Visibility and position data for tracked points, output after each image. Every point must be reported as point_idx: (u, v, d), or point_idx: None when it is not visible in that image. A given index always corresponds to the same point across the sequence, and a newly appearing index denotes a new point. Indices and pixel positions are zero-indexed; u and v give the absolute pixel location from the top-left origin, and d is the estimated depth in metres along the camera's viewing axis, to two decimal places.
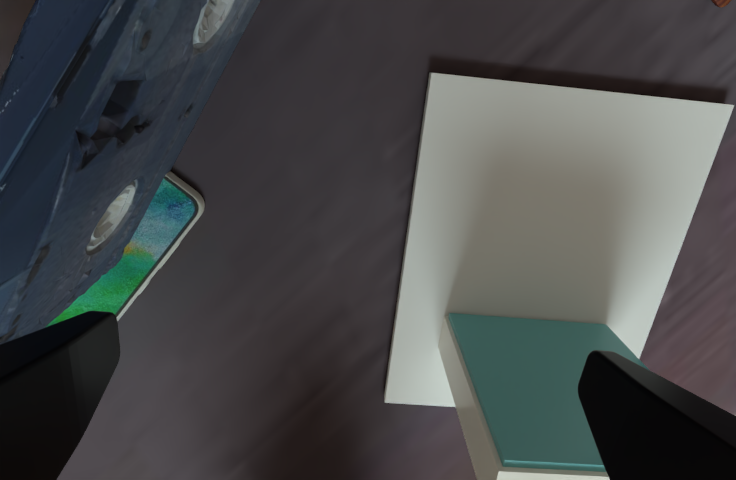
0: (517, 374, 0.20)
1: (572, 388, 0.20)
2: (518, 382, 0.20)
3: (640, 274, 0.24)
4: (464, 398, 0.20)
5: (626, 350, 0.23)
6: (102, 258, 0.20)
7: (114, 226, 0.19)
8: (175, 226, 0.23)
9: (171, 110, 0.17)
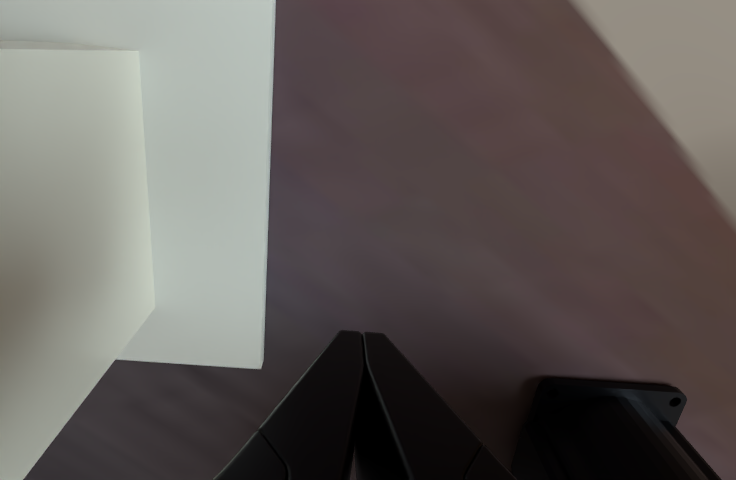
0: None
1: None
2: None
3: None
4: None
5: None
6: None
7: None
8: None
9: None
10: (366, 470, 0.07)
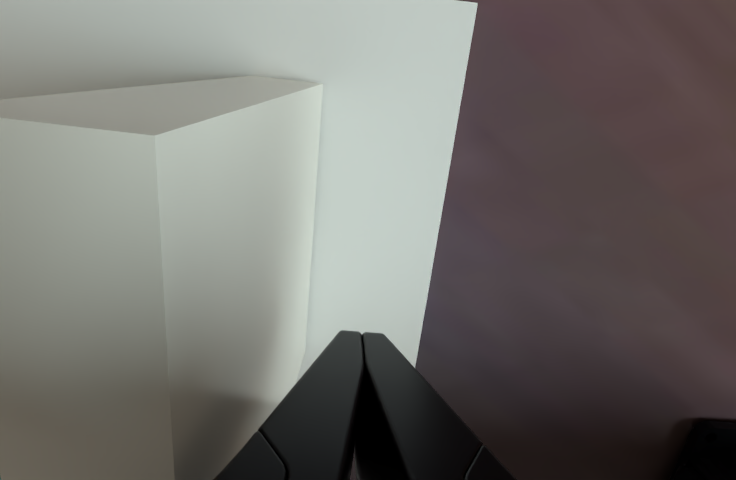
0: None
1: None
2: None
3: (130, 27, 0.13)
4: None
5: None
6: None
7: None
8: None
9: None
10: (366, 470, 0.07)
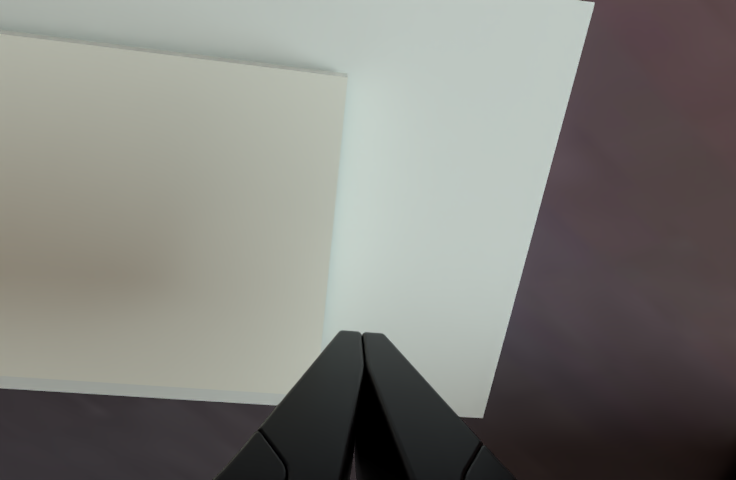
0: None
1: None
2: None
3: (235, 22, 0.12)
4: None
5: None
6: None
7: None
8: None
9: None
10: (366, 470, 0.07)
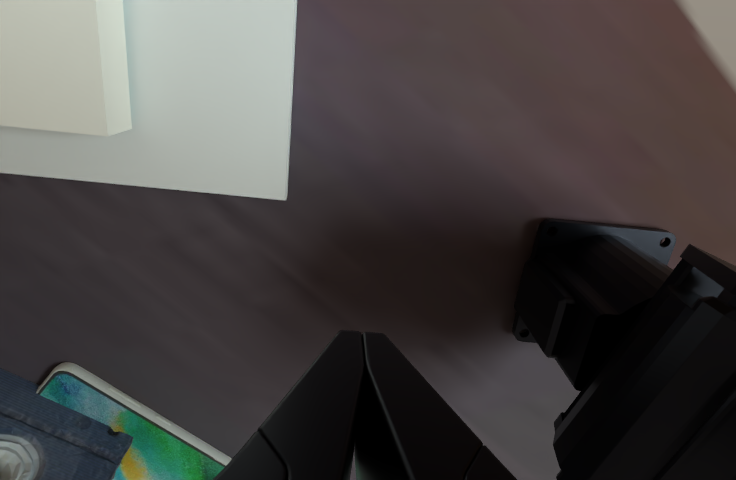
0: None
1: None
2: None
3: None
4: None
5: None
6: (65, 470, 0.22)
7: (28, 459, 0.21)
8: (86, 390, 0.24)
9: None
10: (366, 470, 0.07)
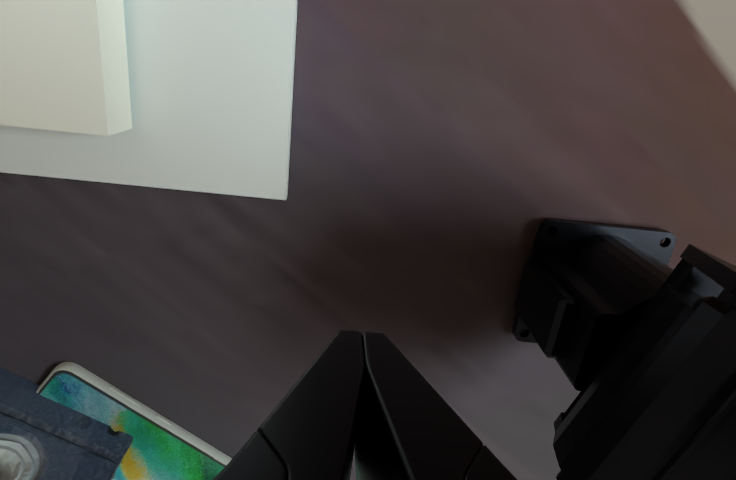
0: None
1: None
2: None
3: None
4: None
5: None
6: (65, 469, 0.22)
7: (28, 458, 0.22)
8: (86, 390, 0.24)
9: None
10: (366, 470, 0.07)
